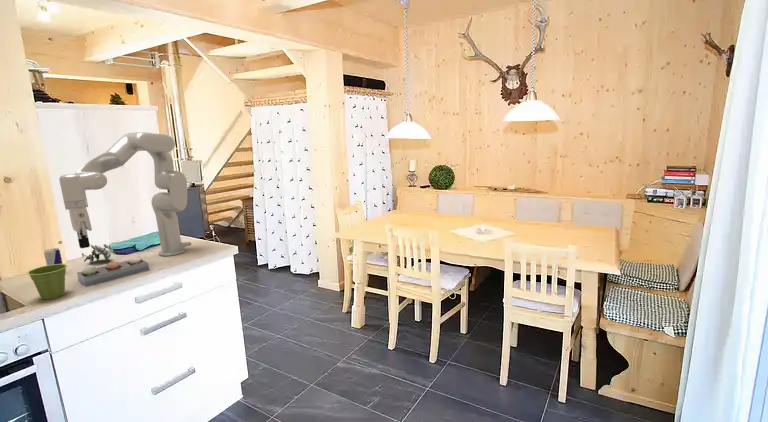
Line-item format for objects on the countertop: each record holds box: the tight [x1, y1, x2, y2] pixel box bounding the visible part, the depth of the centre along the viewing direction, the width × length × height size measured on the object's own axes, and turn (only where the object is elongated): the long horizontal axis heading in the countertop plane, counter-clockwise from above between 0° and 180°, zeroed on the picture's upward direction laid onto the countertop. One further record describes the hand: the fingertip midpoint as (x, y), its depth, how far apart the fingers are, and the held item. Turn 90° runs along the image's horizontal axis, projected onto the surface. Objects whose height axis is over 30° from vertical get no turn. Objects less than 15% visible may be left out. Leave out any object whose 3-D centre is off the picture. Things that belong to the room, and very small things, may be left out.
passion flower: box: [81, 243, 112, 265], centre depth 193 cm, size 11×11×12 cm
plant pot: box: [26, 263, 68, 301], centre depth 153 cm, size 12×12×11 cm
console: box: [76, 258, 150, 288], centre depth 175 cm, size 24×12×4 cm, turn 138°
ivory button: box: [128, 256, 142, 264], centre depth 180 cm, size 5×5×2 cm
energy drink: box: [44, 247, 64, 266], centre depth 177 cm, size 5×5×12 cm
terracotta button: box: [105, 261, 120, 269], centre depth 174 cm, size 5×5×2 cm
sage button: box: [82, 266, 97, 275], centre depth 168 cm, size 5×5×2 cm
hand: (84, 247), depth 166 cm, fingers closed
